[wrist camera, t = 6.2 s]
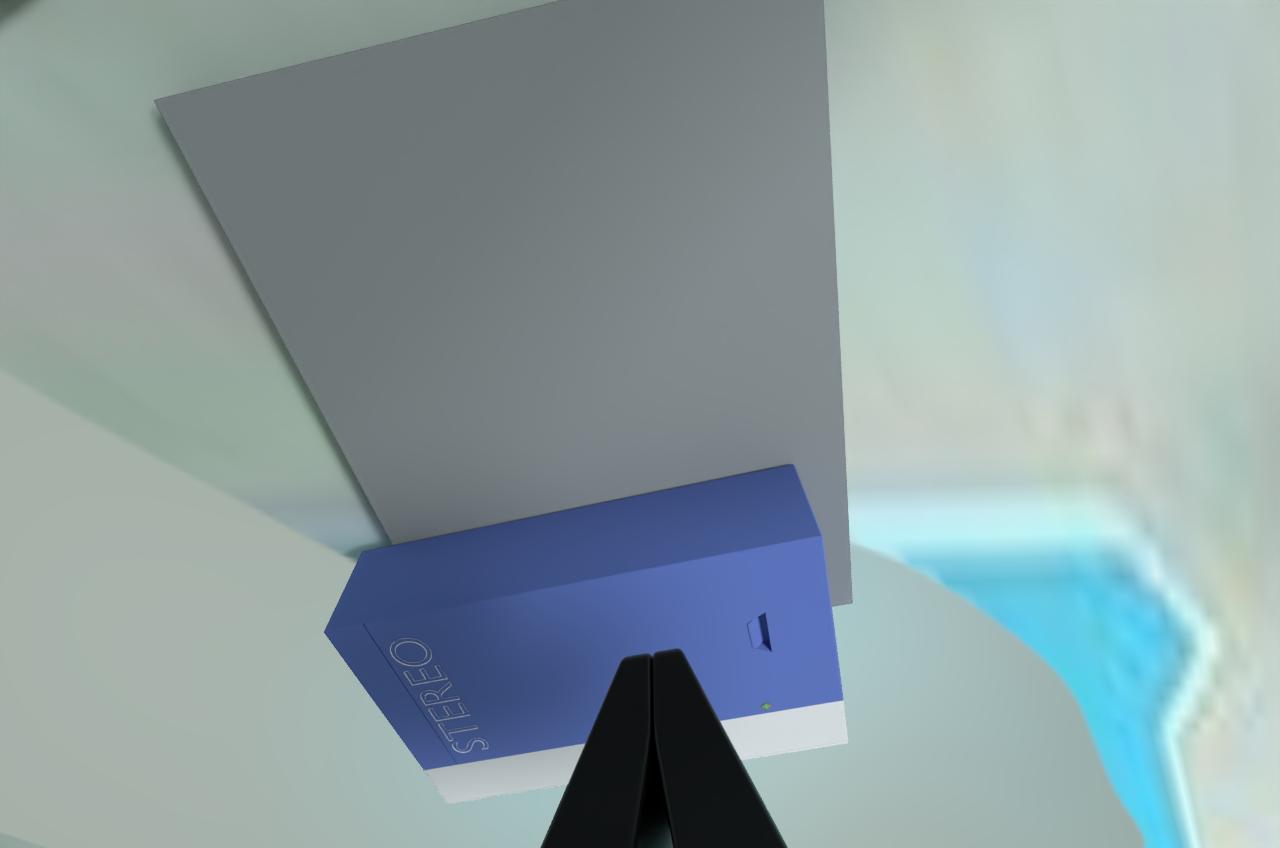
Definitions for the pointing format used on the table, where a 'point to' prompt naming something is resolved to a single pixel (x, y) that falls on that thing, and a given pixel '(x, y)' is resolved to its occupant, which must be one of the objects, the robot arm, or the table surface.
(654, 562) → the walkman
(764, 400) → the mat
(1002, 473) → the table surface
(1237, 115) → the table surface
